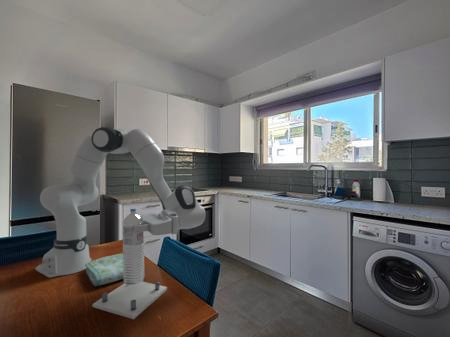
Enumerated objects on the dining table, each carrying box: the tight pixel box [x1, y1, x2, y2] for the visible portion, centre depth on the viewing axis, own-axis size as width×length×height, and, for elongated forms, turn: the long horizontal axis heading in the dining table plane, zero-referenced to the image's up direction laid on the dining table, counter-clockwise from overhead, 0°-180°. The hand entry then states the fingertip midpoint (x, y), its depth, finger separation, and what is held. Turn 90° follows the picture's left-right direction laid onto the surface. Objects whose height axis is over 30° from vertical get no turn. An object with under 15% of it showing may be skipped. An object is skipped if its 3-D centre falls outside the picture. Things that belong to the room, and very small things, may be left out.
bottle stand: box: [92, 280, 168, 320], centre depth 75 cm, size 17×17×4 cm
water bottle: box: [122, 208, 145, 285], centre depth 75 cm, size 7×7×25 cm
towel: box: [85, 252, 124, 287], centre depth 94 cm, size 18×21×5 cm
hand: (130, 226), depth 75 cm, fingers closed on water bottle, 6 cm apart
